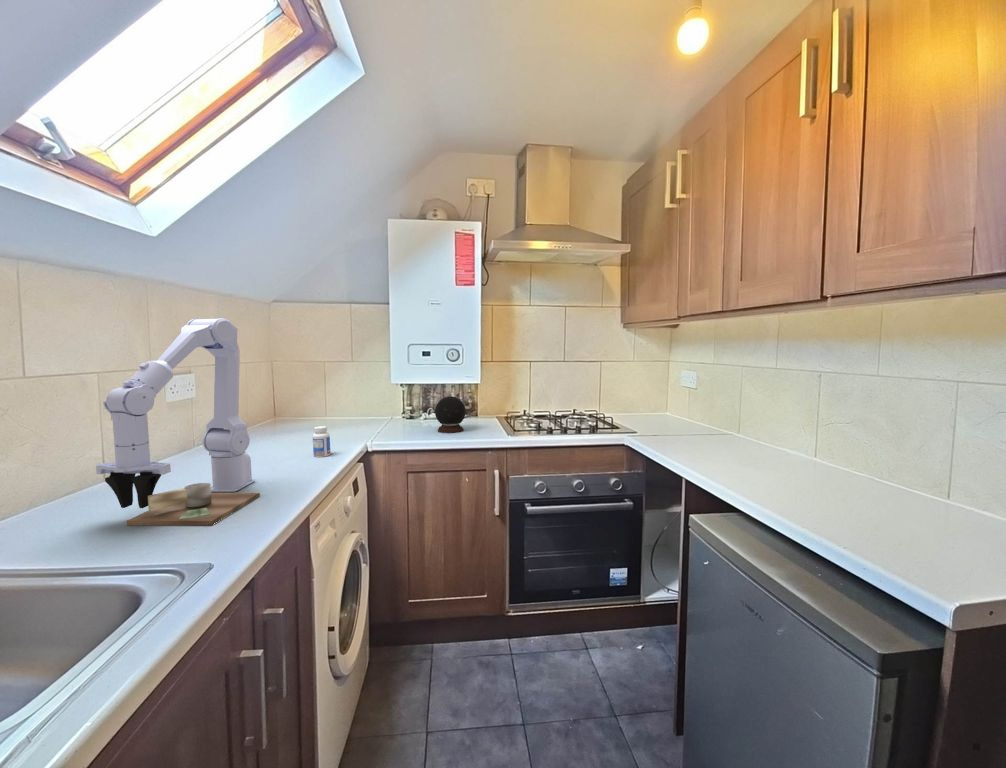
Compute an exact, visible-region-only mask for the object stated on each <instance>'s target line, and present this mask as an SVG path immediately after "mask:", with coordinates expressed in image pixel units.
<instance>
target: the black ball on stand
mask: <svg viewBox="0 0 1006 768" xmlns="http://www.w3.org/2000/svg"><path fill="white" fill-rule="evenodd" d="M466 410H467V409H466V407H465V404H464V402H463V401H462V400H461V399H460V398H457V396H456V397H455V396H445V397H443V398H441V399H440V400H439V401H438V402H437V404H436V405H435V410H434V415H435V418H436V420H437V421H438V423H439V424H441V425H440V426H438V428H437V433H441V434H457V433H458V434H459V433H462V432H464V430H465V429H464V428H463V426H462V425H460V424H461V423H462V422H463V421H464V419H465V417H466Z"/></svg>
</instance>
